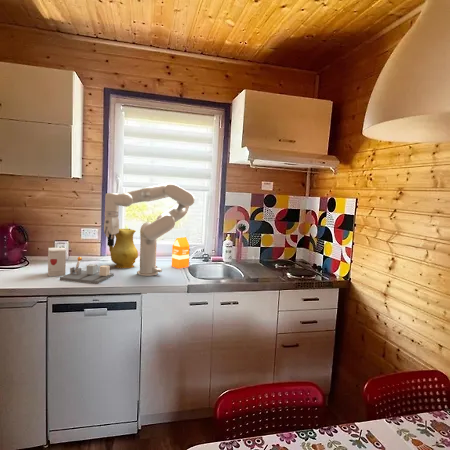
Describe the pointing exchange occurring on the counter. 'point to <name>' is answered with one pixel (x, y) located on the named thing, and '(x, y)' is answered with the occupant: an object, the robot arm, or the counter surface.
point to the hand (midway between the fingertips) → (110, 245)
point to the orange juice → (180, 253)
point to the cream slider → (104, 270)
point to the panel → (85, 277)
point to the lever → (77, 264)
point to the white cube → (91, 269)
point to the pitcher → (124, 249)
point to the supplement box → (56, 261)
